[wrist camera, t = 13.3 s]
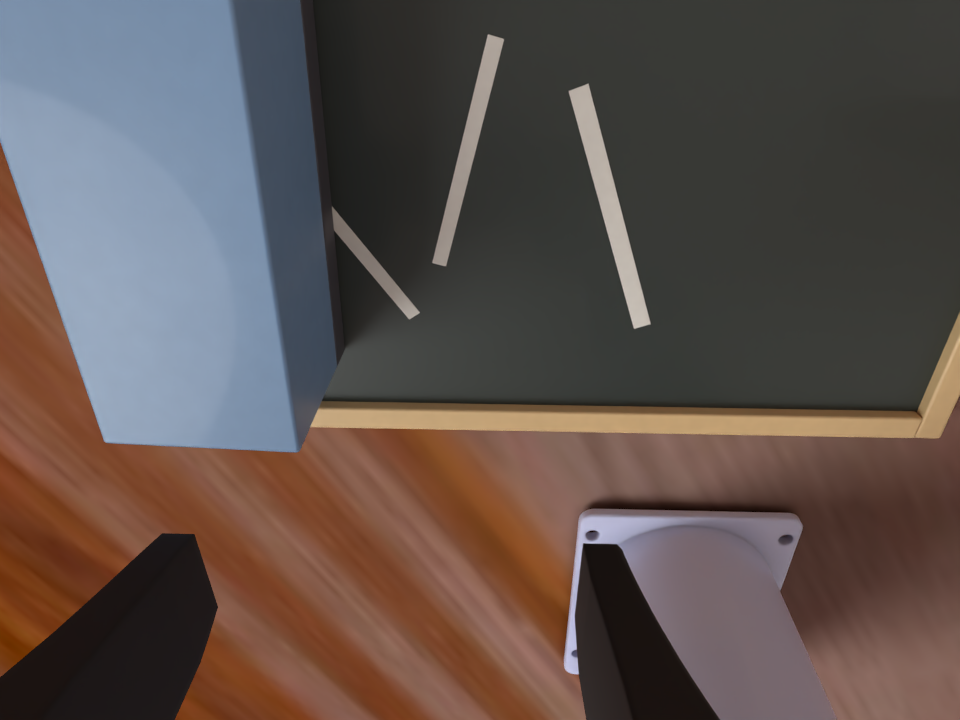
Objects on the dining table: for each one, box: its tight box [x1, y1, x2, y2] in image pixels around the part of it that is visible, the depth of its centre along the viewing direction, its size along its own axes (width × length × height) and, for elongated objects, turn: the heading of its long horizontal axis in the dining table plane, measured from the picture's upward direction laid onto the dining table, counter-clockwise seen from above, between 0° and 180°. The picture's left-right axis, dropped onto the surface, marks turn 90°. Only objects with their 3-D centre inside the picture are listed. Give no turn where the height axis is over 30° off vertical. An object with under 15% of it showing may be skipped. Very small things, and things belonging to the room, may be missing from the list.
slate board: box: [310, 0, 960, 438], centre depth 17 cm, size 14×26×1 cm, turn 90°
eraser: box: [0, 0, 345, 452], centre depth 15 cm, size 10×5×5 cm, turn 178°
